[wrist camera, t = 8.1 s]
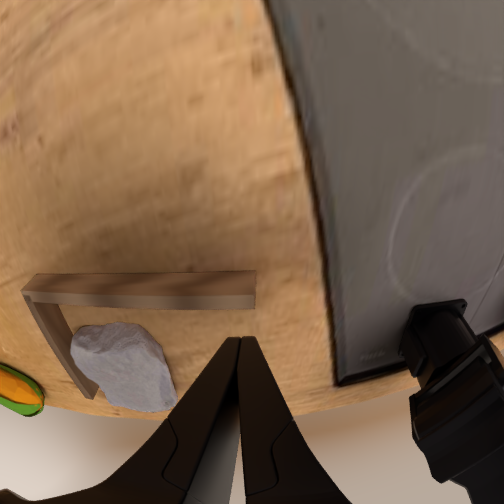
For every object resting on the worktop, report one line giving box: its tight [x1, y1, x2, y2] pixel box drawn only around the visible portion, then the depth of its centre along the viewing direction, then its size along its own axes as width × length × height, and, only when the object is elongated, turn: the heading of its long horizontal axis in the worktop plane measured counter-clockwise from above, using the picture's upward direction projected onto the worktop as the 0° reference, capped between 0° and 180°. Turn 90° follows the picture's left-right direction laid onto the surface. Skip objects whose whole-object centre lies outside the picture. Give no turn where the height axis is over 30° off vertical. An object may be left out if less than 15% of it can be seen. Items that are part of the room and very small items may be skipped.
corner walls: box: [21, 271, 256, 400], centre depth 25 cm, size 22×16×3 cm
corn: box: [0, 365, 45, 417], centre depth 32 cm, size 7×8×20 cm
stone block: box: [70, 322, 178, 412], centre depth 27 cm, size 12×5×10 cm
